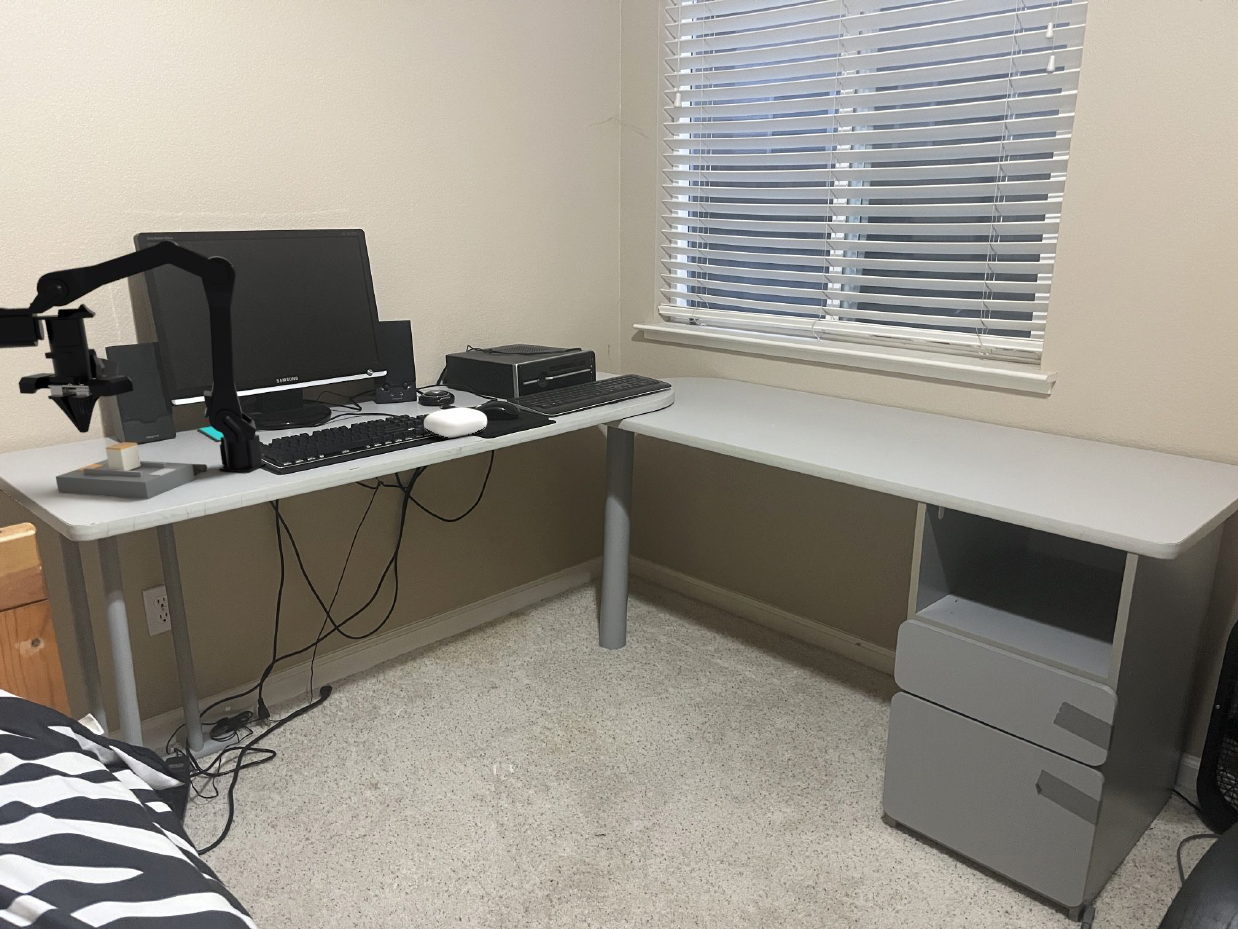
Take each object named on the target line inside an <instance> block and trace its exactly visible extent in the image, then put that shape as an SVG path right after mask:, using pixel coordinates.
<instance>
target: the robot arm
mask: <svg viewBox="0 0 1238 929" xmlns="http://www.w3.org/2000/svg"><path fill="white" fill-rule="evenodd" d="M164 265H172V266H174V267H176V268H179V269H180V270H183V271H185V272H188V273H190V274H192V275H194V276H197V277H199V278H201V280H202V281H201V282H202V285H203V288H204V293H205V297H206V302H207V304H208V308H209V324H210V326H209V327H210V340H211V341H210V342H211V343H210V344H211V362H212V364H211V365H212V378H213V379H212V380H213V381H212V387H211V391H210V390H204V391H203V399H204V403H205V409H204V418H205V419H207V418H208V422H209V424H210V427H211V426H212V427H213V428H214V429H215V430H216V431H219V432H221V433H222V434H223V437H221V438H220V439H221V442H220V444H219V452H220V459H221V464H222V466H220V467H218V471H221V472H222V471H225V472H238V473H239V472H242V473H249V472H252V471H254V470H257V469H258V468H260V467H262V466H261V461H263V457H262V451H261V450H262V449H261V442H260V434H256V432H257V428H256V424H255V421H254V419H253V418H251V417H250V416H248V415H247V414H245V413H244V412H243V411H242V408H241V404H240V399H239V395H238V391H237V388H236V383H235V372H234V355H233V354H234V351H233V349H234V348H233V334H232V332H233V331H232V330H233V328H232V315H231V314H232V311H231V310H232V303H233V295H234V291H235V284H236V270H235V267H234V266H233V264H232V263H231V262H230V261H229V259H227V258H224V257H223V256H218V255H214V256H210V257H208V256H206V255H204V254H201V253H199V252H196V251H194V250H192V249H189V248H187V247H184V246H181V244H178V243H177V242H176V241H173V240H171V239H165V240H162V241H160V242H159V243H156V244H154V245H151V246H148V247H145V248H143V249H139V250H136V251H133V252H130V253H127V254H124V255H121V256H118V257H115V258H111V259H108V260H106V261H103V262H99V263H96V264H93V265H87V266H86V265H85V266H81V267H80V266H78V267H72V268H64V269H60V270H59V269H58V270H53V271H50V272H47V273H45V274H43V275H41V276H40V277H39V278H38V280H37V283H36V293H37V294H36V296H35V297H34V299H33V301H32V302H29V306H28V307H12V308H11V307H10V308H9V307H0V350H1V349H15V348H32V347H34V348H36V347H38V346H39V341H44V340H45V337H46V336H45V330H44V324H45V329H46V335H47V340H48V346H49V351H46V352H44V357H45V359H47V360H48V359H49V360H51V362H52V366H53V368H52V369H53V373H52V372H50V373H49V372H42V373H36V374H31V375H26V376H21V377H20V379H19V381H18V388H19V393H20V394H24V395H26V394H29V395H34V394H36V393H37V391H40V390H42V389H44V390H45V389H46V390H50V395H48V396H47V398H48V400H52V401H53V402H54V403H55V404H56V406H58V408H59V409H60V410H61V411H63V413H64V414H65V415H66V417H67V418H68V419H69V420H70V421H71V423H72V424H73V426H75V428H76V429H77V430H78V432H79V433H80V434H81V433H83V434H84V433H88V432H89V430H90V425H91V420H92V416H93V412H94V408H95V406H96V403H97V402H98V400H99V399H100V398H101V397H105V398H106V397H107V398H108V397H114V396H118V395H122V394H126V393H129V392H133V391H134V387H133V386H134V385H133V380H132V379H131V378H130V376H128V375H119V374H118V373H119V364H120V363H119V362H118V361H116V360H111V359H106V358H102V357H98V355H97V351H96V350H95V348H90V347H89V343H88V338H87V332H86V326H85V319H92V318H95V316H97V314H96V312H95V311H94V310H91V309H90V308H89V307H88V306H87V305H86V304H85V303H81V304H80V305H79V306H78V308H61V307H65V306H67V305H70V304H72V303H73V302H75V301H77V300H78V299H81V298H82V297H85V296H86V295H88V294H89V293H92V292H93V291H95V290H97V289H98V288H100V287H102V286H105V285H109V284H111V283H114V282H117V281H120V280H123V279H127V278H129V277H131V276H132V277H133V276H135V275H138V274H141V273H144V272H146V271H150V270H153V269H156V268H158V267H162V266H164ZM54 307H56V308H57V307H60V308H59V309H57V314H50V315H41V314H43V313H46V312H47V311H49V310H51V309H53V308H54ZM39 314H40V315H39ZM43 321H44V324H43Z"/></svg>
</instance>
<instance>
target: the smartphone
mask: <svg viewBox="0 0 1238 929" xmlns="http://www.w3.org/2000/svg"><path fill="white" fill-rule="evenodd" d="M197 431H198V432H199V433H201V434H204V435H205V436H206V437H208V438H210V439H211V440H213V441H215V442H217V443H221V439H220V438H221V437H223V434H222V433H221V432H219V431H216V430H215V429H214V428H213V427H212V426H211V425H210V426H206V427H198V428H197Z"/></svg>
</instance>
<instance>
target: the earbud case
mask: <svg viewBox="0 0 1238 929" xmlns="http://www.w3.org/2000/svg"><path fill="white" fill-rule="evenodd" d="M487 418H488V417H487V415H486V414H485V413H484V412H482V411H480V410H477V409H473V408H469V407H452V408H447V409H442V410H436V411H434V412H431V413H429V414H428V415H427V416H426V417H425V418H424V420H423V426H424V429H425V428H426V429H428V430H430V431H432V432H434V433H437V434H439V435H441V436H444V437H443V438H445V437H448V438H447V439H452V438H457V437H464V436H468V434H469V435H473V434H472V433H474V434H476V433H475V432H477V431H478V430H481V429H483V428H484V427H485V428H486V427H487V424H488V419H487ZM485 428H484V429H485ZM426 429H425V430H426ZM484 429H483V430H484ZM477 433H478V432H477ZM441 436H440V437H441Z"/></svg>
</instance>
